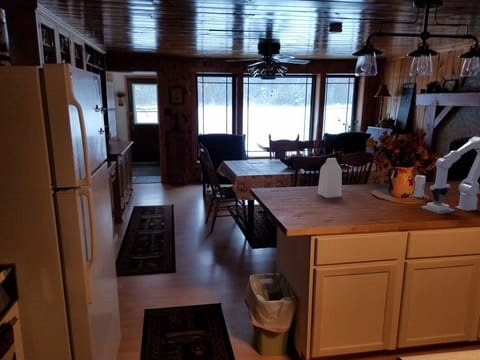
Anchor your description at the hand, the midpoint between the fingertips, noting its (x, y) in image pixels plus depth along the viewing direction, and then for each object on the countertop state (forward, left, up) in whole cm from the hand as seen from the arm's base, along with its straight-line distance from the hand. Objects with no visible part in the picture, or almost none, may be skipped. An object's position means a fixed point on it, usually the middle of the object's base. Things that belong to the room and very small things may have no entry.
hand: (438, 200), depth 222 cm
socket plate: (0, 0, -6) cm, 6 cm away
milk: (+40, -54, -6) cm, 68 cm away
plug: (0, 0, -2) cm, 2 cm away
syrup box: (-14, -27, -6) cm, 31 cm away
